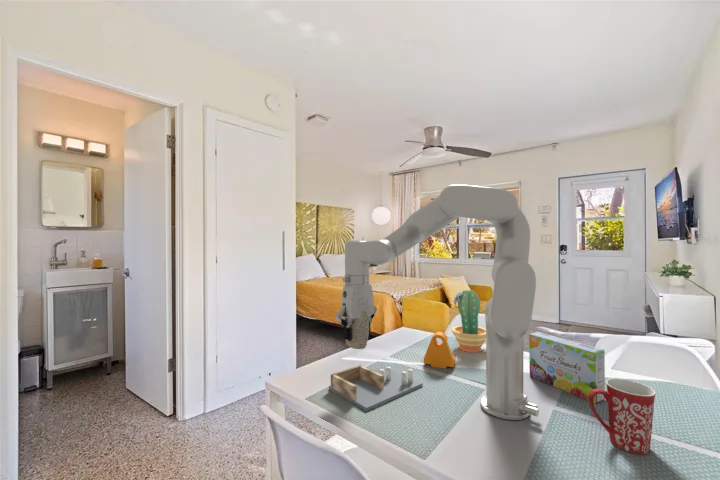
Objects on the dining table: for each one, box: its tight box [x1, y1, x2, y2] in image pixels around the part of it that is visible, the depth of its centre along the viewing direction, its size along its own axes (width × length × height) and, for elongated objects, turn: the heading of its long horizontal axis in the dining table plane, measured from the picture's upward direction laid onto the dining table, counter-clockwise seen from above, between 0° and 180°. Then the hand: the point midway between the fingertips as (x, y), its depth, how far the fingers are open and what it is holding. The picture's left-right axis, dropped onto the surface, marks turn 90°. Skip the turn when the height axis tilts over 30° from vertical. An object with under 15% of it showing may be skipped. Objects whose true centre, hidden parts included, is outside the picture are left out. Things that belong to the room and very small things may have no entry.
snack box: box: [528, 331, 606, 404], centre depth 106 cm, size 21×6×15 cm, turn 27°
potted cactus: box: [451, 289, 486, 353], centre depth 144 cm, size 15×15×25 cm
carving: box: [344, 311, 369, 350], centre depth 105 cm, size 6×8×12 cm
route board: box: [328, 366, 424, 412], centre depth 107 cm, size 18×24×5 cm
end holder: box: [330, 364, 384, 400], centre depth 105 cm, size 12×12×4 cm
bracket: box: [423, 331, 456, 369], centre depth 127 cm, size 11×7×12 cm, turn 68°
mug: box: [587, 377, 657, 455], centre depth 78 cm, size 13×9×14 cm
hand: (357, 336), depth 105 cm, fingers closed on carving, 6 cm apart
